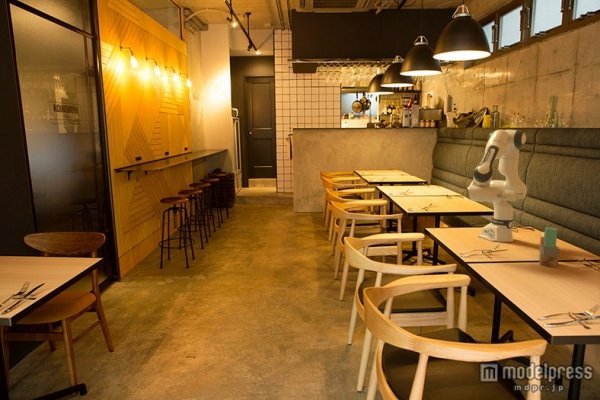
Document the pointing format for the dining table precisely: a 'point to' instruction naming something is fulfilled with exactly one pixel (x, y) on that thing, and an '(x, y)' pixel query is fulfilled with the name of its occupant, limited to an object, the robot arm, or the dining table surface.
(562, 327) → the dining table surface
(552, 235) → the teal pillar
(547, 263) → the tower base
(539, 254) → the stack of blocks
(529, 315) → the dining table surface
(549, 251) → the tower top
